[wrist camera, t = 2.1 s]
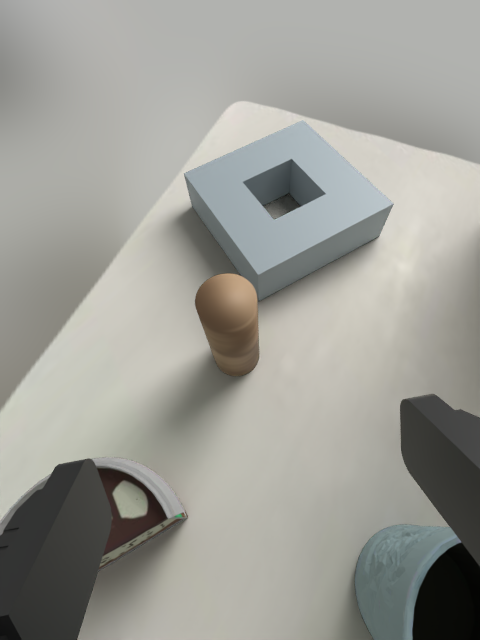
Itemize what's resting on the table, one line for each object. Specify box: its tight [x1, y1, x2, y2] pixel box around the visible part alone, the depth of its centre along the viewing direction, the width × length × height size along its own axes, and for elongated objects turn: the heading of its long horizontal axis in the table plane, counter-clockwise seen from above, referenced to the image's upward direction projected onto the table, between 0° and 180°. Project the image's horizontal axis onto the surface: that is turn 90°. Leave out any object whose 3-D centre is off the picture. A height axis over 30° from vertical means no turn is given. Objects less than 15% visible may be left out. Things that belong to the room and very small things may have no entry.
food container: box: [0, 457, 188, 571], centre depth 25 cm, size 12×6×10 cm, turn 119°
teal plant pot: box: [355, 525, 480, 640], centre depth 20 cm, size 10×10×12 cm
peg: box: [195, 273, 259, 376], centre depth 30 cm, size 4×4×11 cm
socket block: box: [184, 120, 393, 301], centre depth 40 cm, size 16×16×5 cm
